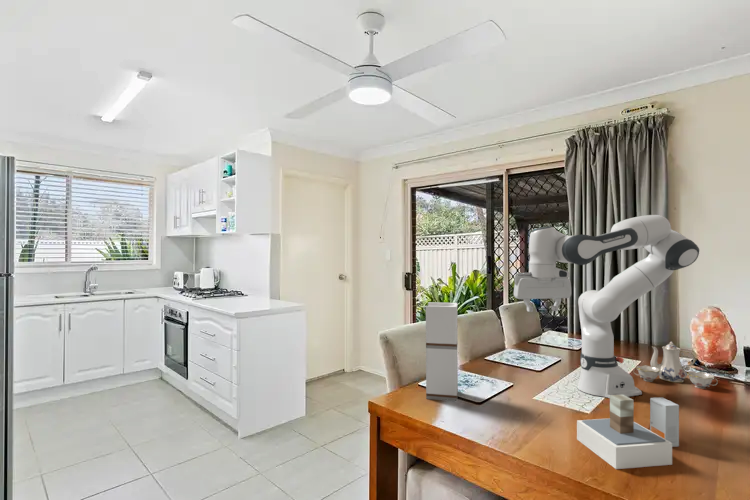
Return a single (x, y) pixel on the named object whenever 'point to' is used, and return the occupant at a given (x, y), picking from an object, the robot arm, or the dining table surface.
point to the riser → (624, 444)
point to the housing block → (622, 413)
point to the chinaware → (673, 368)
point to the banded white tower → (441, 351)
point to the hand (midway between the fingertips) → (542, 311)
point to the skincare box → (665, 419)
